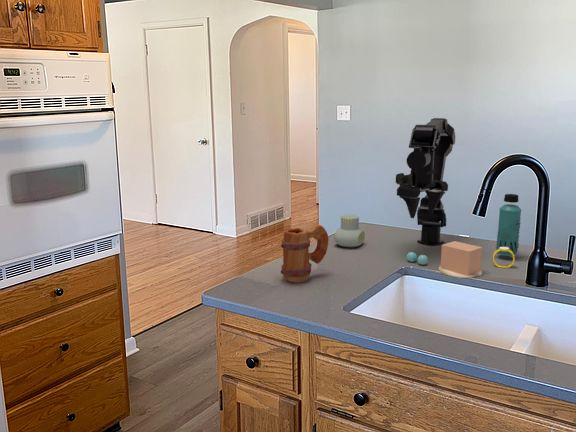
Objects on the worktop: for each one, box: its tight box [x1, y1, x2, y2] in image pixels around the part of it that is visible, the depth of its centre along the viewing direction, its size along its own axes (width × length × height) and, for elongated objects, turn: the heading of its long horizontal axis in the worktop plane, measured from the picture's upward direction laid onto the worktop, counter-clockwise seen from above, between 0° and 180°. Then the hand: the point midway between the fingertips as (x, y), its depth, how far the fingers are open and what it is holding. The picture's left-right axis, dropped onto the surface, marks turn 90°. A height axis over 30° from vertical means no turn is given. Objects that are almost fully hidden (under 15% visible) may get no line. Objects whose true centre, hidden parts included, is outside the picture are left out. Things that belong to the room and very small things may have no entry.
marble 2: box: [416, 254, 428, 266], centre depth 173 cm, size 3×3×3 cm
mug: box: [280, 223, 329, 284], centre depth 160 cm, size 15×8×15 cm, turn 118°
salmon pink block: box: [440, 240, 483, 276], centre depth 166 cm, size 6×9×7 cm
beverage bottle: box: [495, 193, 522, 257], centre depth 177 cm, size 6×7×20 cm
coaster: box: [438, 265, 483, 279], centre depth 167 cm, size 12×12×1 cm
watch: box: [492, 247, 516, 269], centre depth 170 cm, size 6×3×6 cm, turn 71°
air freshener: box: [333, 214, 366, 248], centre depth 193 cm, size 11×8×10 cm
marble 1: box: [406, 251, 418, 263], centre depth 176 cm, size 3×3×3 cm
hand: (421, 215), depth 181 cm, fingers open, 9 cm apart
